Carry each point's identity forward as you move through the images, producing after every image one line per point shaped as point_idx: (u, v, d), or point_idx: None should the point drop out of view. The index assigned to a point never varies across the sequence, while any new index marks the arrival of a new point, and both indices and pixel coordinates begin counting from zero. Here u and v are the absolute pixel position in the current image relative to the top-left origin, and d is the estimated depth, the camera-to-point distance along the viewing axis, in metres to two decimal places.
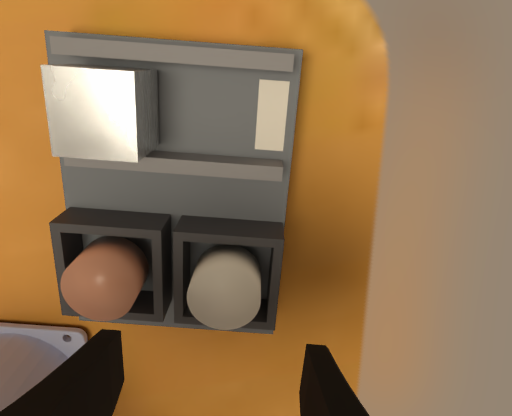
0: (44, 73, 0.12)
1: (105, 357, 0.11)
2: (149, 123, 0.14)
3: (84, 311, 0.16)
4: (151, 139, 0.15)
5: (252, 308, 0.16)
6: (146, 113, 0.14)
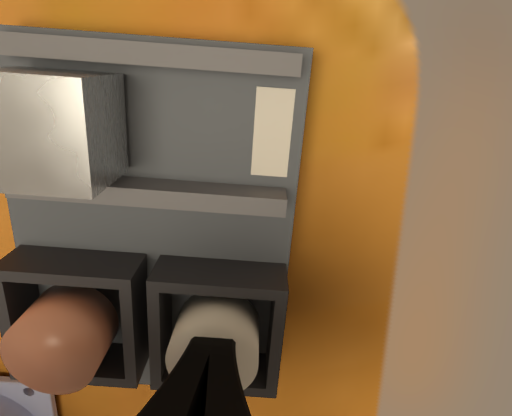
0: None
1: (208, 364, 0.11)
2: (111, 144, 0.11)
3: (32, 383, 0.12)
4: (115, 164, 0.11)
5: (248, 373, 0.12)
6: (105, 132, 0.10)
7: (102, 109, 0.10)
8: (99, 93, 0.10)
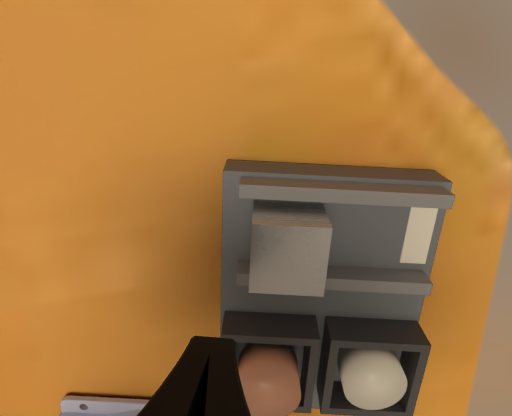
0: (253, 230, 0.14)
1: (208, 364, 0.11)
2: None
3: (252, 412, 0.18)
4: None
5: (399, 393, 0.18)
6: None
7: None
8: None
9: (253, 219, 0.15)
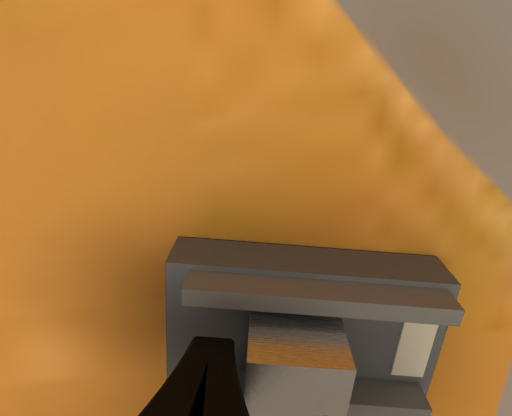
0: (249, 370, 0.10)
1: None
2: None
3: None
4: None
5: None
6: None
7: None
8: None
9: (249, 351, 0.11)
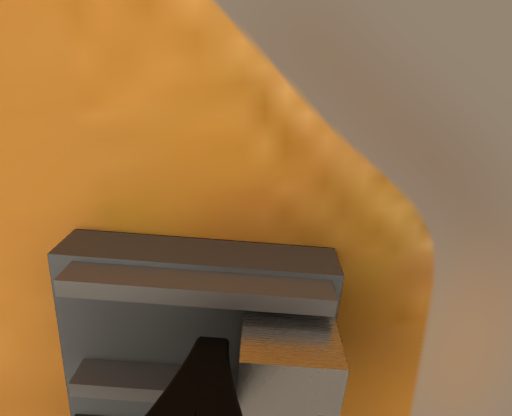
0: (241, 370, 0.10)
1: None
2: None
3: None
4: None
5: None
6: None
7: None
8: None
9: (241, 351, 0.11)
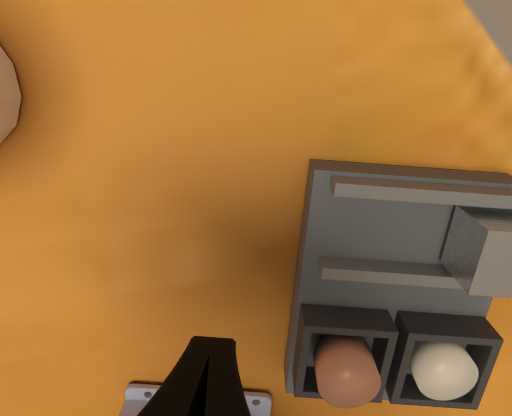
0: (489, 236, 0.15)
1: (208, 364, 0.11)
2: None
3: (332, 400, 0.19)
4: None
5: (469, 384, 0.19)
6: None
7: None
8: None
9: (484, 226, 0.15)
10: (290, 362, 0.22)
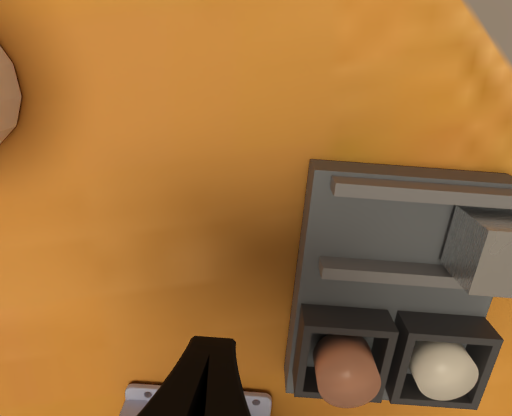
0: (489, 236, 0.15)
1: (208, 364, 0.11)
2: None
3: (332, 400, 0.19)
4: None
5: (469, 384, 0.19)
6: None
7: None
8: None
9: (484, 226, 0.15)
10: (290, 362, 0.22)
